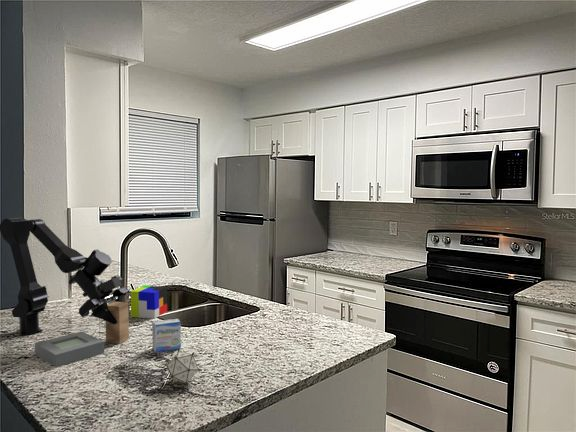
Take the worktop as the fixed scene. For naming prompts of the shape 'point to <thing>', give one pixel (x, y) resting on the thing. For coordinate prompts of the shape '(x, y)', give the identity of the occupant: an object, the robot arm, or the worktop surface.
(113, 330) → the post
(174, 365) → the game die
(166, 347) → the medicine box
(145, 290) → the puzzle toy
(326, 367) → the worktop surface
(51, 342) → the base plate
